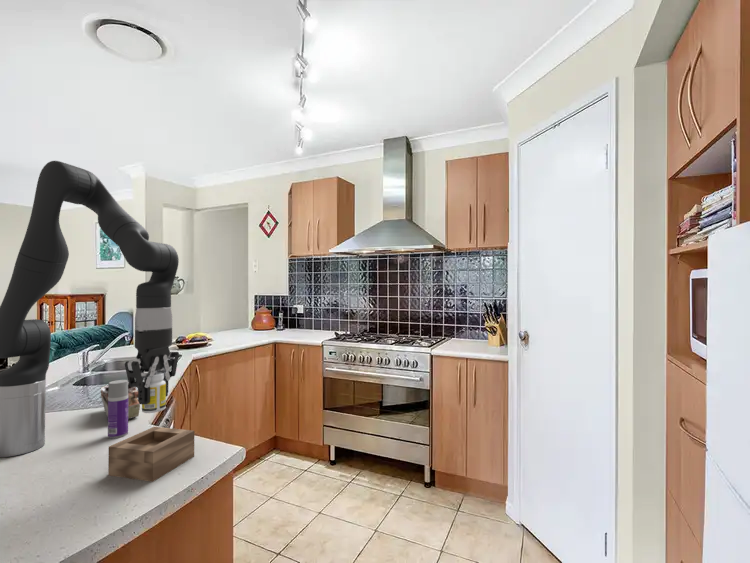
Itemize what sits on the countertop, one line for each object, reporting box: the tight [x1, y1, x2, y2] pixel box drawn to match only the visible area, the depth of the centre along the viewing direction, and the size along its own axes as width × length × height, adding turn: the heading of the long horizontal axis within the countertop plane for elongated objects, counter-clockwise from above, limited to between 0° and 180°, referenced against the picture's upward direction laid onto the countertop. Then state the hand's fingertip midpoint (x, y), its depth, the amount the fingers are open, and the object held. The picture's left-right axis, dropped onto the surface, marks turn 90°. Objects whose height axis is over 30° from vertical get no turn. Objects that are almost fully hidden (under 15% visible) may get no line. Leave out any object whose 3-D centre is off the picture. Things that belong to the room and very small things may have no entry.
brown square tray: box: [107, 426, 195, 483], centre depth 84 cm, size 12×12×6 cm
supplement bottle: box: [141, 372, 167, 414], centre depth 84 cm, size 5×5×8 cm
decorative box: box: [100, 382, 141, 420], centre depth 118 cm, size 13×20×10 cm, turn 37°
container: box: [107, 379, 129, 440], centre depth 102 cm, size 5×5×15 cm
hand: (153, 399), depth 84 cm, fingers closed on supplement bottle, 4 cm apart
